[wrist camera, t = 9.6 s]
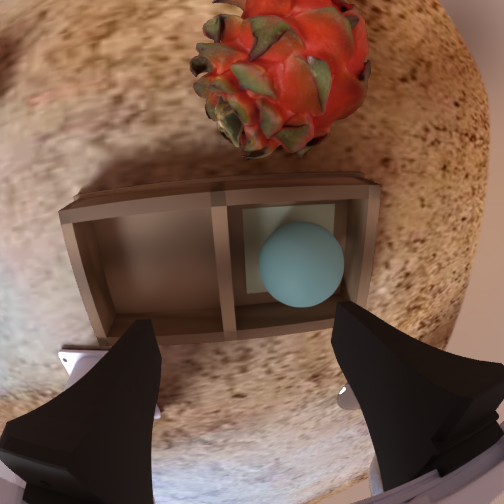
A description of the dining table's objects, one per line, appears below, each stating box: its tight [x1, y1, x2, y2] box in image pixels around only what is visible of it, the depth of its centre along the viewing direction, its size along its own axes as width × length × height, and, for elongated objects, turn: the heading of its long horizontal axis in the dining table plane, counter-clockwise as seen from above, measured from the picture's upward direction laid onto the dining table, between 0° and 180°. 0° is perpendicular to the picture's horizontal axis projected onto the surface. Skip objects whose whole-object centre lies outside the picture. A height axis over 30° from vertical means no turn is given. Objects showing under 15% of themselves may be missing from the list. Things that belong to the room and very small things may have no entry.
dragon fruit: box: [190, 0, 371, 160], centre depth 12 cm, size 8×8×12 cm
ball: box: [259, 221, 344, 307], centre depth 17 cm, size 5×5×5 cm
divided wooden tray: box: [58, 172, 381, 346], centre depth 18 cm, size 10×19×3 cm, turn 92°
